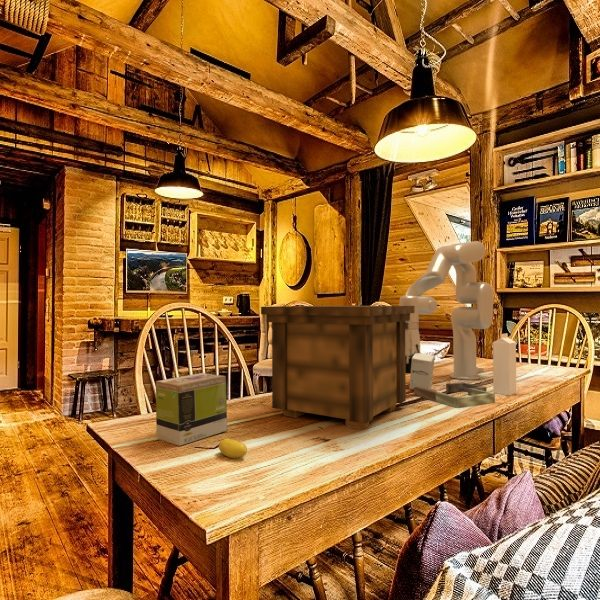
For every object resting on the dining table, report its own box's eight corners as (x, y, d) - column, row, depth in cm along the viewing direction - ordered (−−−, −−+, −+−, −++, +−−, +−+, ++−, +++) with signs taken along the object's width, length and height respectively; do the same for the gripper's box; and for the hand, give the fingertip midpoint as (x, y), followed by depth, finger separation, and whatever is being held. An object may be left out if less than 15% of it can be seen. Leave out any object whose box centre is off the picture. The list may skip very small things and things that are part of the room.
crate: (261, 416, 124) (260, 306, 125) (321, 394, 154) (320, 305, 154) (370, 436, 105) (369, 306, 105) (415, 407, 134) (414, 305, 135)
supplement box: (408, 389, 159) (410, 357, 156) (413, 381, 166) (415, 351, 163) (428, 393, 156) (431, 361, 153) (432, 385, 162) (435, 354, 160)
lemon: (228, 450, 96) (228, 433, 96) (251, 458, 91) (251, 440, 91) (213, 455, 93) (213, 437, 93) (236, 464, 88) (236, 445, 88)
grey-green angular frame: (460, 389, 162) (460, 381, 162) (507, 400, 143) (507, 391, 143) (413, 395, 152) (413, 387, 152) (457, 407, 133) (457, 398, 133)
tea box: (203, 425, 116) (203, 371, 116) (228, 432, 110) (227, 375, 110) (154, 438, 104) (154, 379, 104) (178, 447, 98) (178, 384, 98)
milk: (516, 393, 155) (516, 333, 155) (509, 395, 151) (510, 334, 151) (499, 390, 159) (499, 332, 159) (492, 393, 155) (492, 333, 155)
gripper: (389, 325, 171) (388, 370, 171) (413, 327, 158) (412, 376, 157) (404, 326, 175) (403, 370, 174) (429, 327, 161) (428, 375, 160)
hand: (407, 373), depth 166 cm, fingers closed
